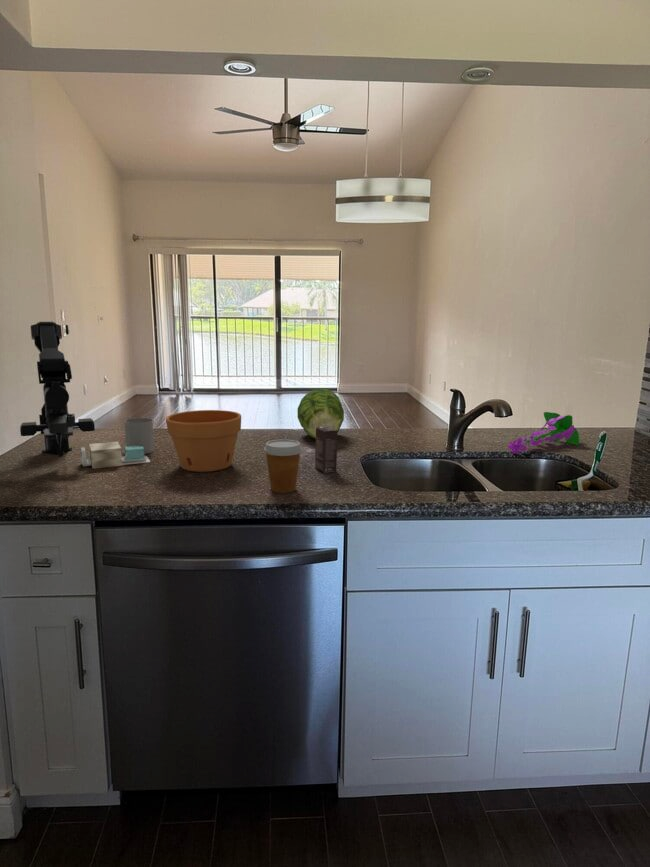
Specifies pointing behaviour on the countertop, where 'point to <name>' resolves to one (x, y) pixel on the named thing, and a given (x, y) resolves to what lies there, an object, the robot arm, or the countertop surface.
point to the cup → (140, 433)
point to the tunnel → (105, 454)
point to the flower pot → (204, 438)
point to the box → (326, 449)
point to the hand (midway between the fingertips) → (60, 456)
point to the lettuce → (320, 411)
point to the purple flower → (549, 433)
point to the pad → (137, 461)
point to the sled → (130, 455)
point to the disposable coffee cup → (283, 464)
